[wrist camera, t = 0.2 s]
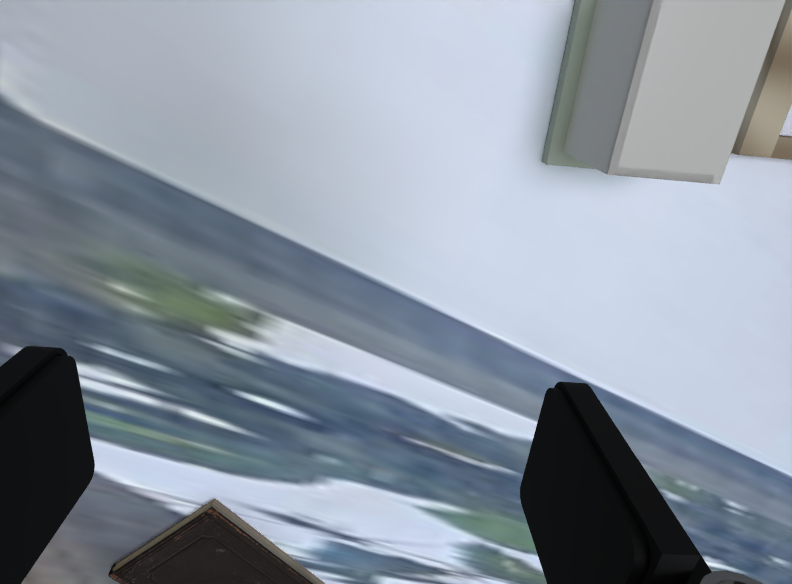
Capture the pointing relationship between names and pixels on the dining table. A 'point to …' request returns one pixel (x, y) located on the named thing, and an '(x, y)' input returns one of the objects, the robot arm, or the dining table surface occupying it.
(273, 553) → the hardcover book
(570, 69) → the pad
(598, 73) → the block
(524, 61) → the dining table surface
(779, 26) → the board
